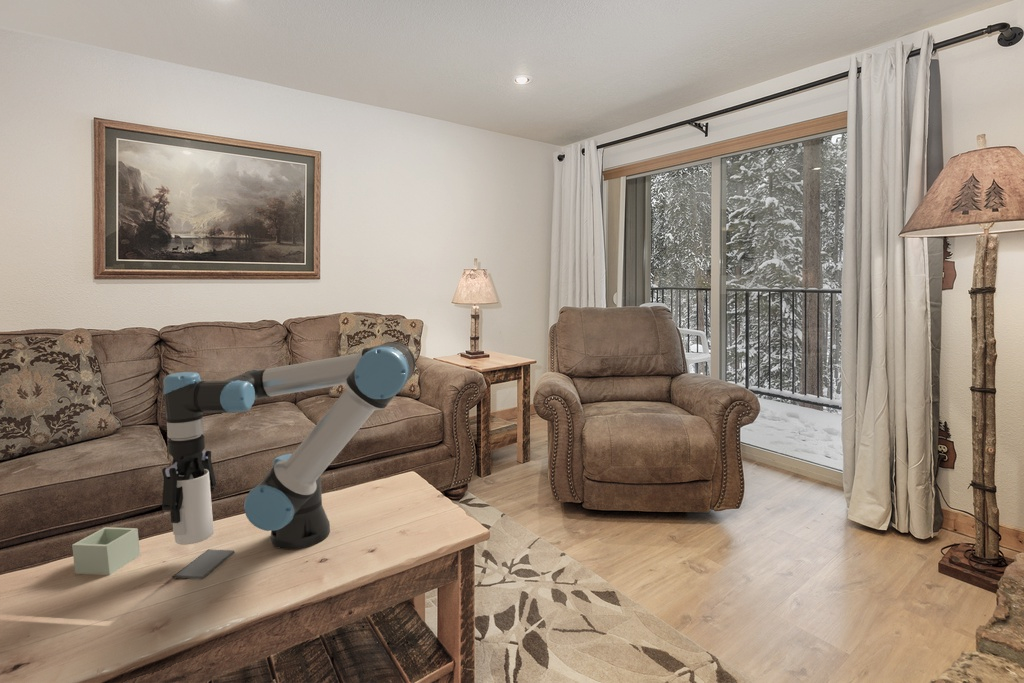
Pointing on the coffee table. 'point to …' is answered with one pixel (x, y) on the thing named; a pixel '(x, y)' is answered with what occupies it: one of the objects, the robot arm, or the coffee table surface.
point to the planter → (106, 551)
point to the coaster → (204, 564)
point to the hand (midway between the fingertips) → (193, 525)
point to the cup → (196, 509)
